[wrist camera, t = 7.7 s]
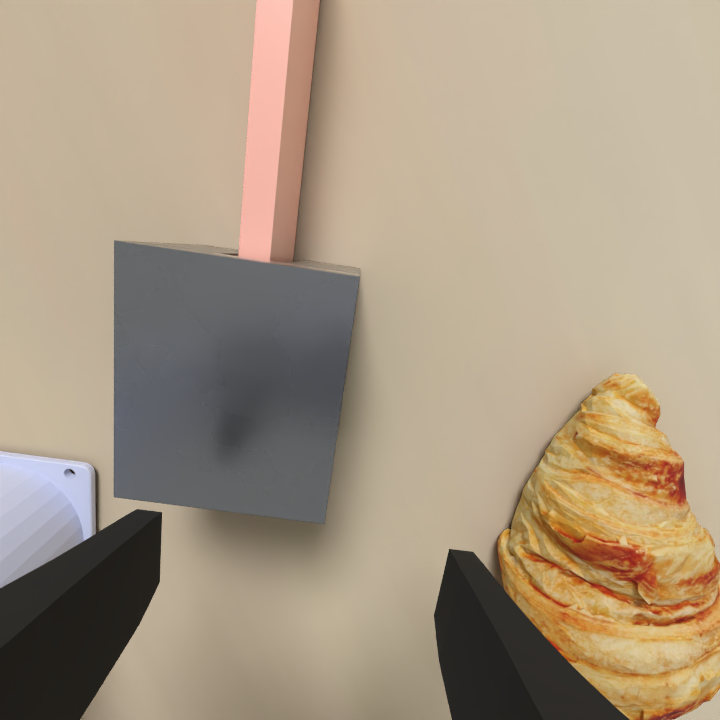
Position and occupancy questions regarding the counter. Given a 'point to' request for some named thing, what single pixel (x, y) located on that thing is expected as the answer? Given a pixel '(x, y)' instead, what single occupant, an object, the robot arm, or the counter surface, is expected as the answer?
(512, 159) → the counter surface
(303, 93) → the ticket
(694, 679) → the croissant
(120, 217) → the counter surface
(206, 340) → the grey cube
